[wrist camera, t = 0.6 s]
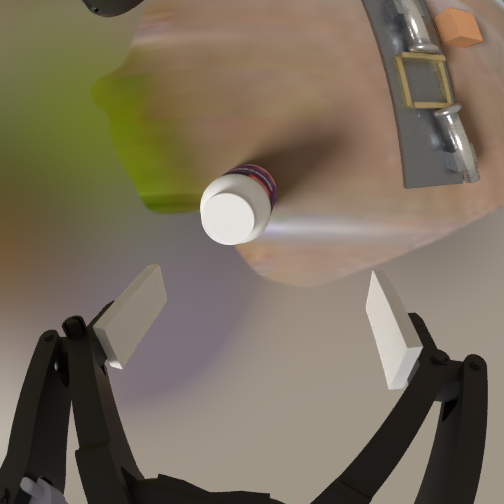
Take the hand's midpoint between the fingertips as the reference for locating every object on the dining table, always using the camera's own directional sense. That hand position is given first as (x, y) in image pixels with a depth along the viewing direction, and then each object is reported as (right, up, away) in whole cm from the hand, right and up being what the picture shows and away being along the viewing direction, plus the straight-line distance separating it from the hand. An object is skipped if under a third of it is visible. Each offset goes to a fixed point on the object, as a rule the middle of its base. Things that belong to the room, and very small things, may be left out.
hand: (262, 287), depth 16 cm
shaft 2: (+29, +19, +15) cm, 38 cm away
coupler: (+31, +37, +7) cm, 49 cm away
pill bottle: (-1, +11, +24) cm, 27 cm away
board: (+24, +27, +13) cm, 39 cm away
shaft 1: (+22, +35, +8) cm, 42 cm away
